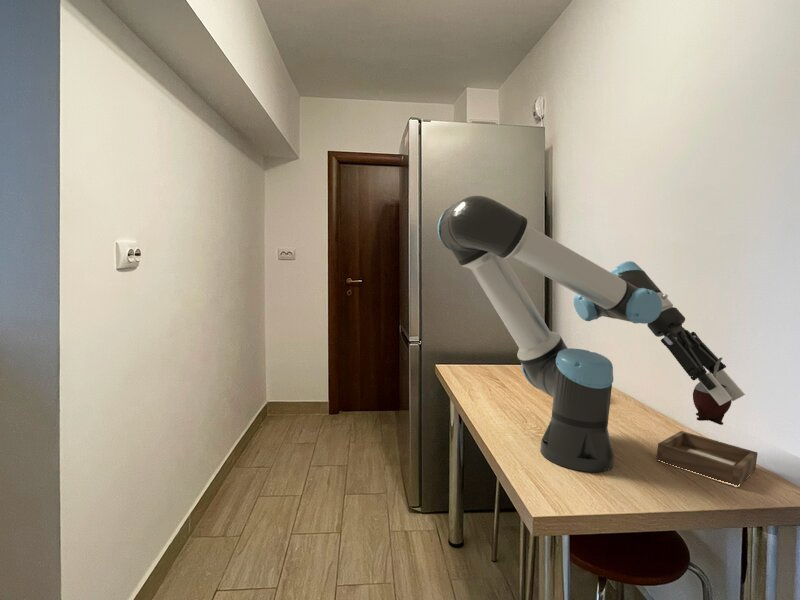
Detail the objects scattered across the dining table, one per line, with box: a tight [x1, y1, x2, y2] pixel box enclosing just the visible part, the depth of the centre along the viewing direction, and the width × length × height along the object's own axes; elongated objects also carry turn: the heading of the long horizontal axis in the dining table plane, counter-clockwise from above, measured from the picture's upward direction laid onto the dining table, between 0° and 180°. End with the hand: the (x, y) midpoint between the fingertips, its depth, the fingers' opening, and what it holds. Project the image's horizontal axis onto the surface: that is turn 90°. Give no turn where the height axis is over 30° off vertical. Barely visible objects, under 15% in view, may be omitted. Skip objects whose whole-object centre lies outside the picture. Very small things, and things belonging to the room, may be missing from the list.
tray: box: [655, 430, 758, 486], centre depth 99 cm, size 15×15×4 cm
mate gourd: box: [692, 357, 733, 426], centre depth 98 cm, size 8×8×15 cm
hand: (732, 399), depth 95 cm, fingers closed on mate gourd, 7 cm apart
